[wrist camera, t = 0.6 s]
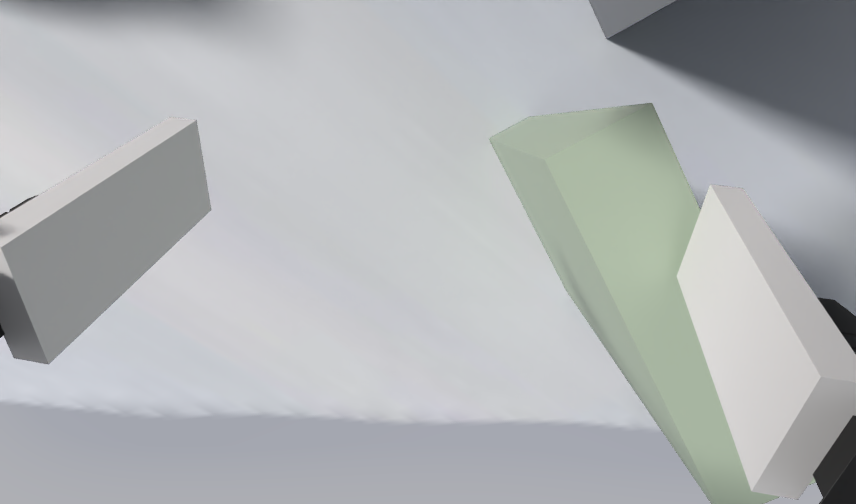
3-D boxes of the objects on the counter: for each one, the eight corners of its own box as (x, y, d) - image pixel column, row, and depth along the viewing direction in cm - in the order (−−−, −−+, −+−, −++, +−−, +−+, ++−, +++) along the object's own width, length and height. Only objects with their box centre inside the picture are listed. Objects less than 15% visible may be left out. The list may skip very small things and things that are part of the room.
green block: (566, 290, 40) (722, 520, 17) (488, 138, 38) (544, 159, 15) (605, 271, 40) (821, 479, 16) (529, 116, 38) (651, 103, 14)
